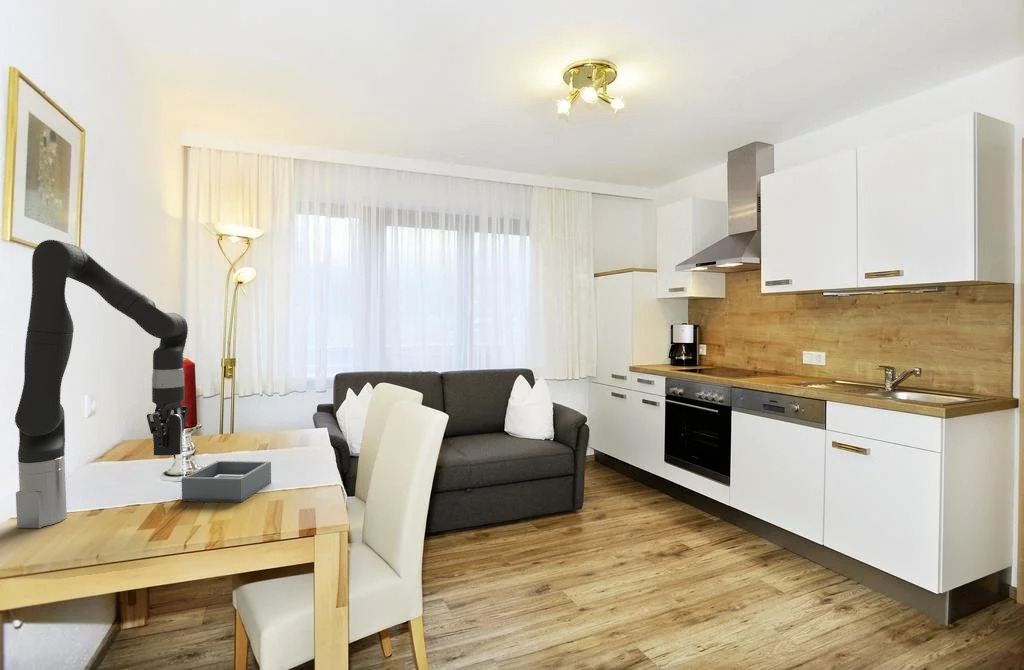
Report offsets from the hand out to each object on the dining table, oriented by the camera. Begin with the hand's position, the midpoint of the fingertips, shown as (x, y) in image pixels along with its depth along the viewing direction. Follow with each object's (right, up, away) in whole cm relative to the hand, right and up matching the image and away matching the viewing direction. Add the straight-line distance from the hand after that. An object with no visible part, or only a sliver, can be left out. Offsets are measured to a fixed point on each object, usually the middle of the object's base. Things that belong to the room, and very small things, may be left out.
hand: (168, 445), depth 145 cm
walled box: (+6, -18, +19) cm, 27 cm away
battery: (0, -3, 0) cm, 3 cm away
